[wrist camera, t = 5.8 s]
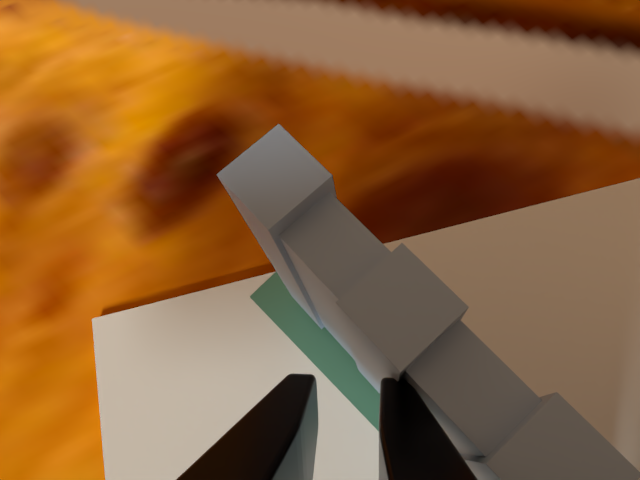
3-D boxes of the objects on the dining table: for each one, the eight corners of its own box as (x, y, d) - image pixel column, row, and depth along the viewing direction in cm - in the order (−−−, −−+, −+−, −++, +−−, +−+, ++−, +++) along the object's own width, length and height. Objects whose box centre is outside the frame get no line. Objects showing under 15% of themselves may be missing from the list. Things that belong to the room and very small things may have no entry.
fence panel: (606, 562, 12) (890, 714, 5) (569, 603, 12) (815, 816, 5) (325, 267, 15) (278, 123, 8) (292, 296, 15) (216, 174, 8)
